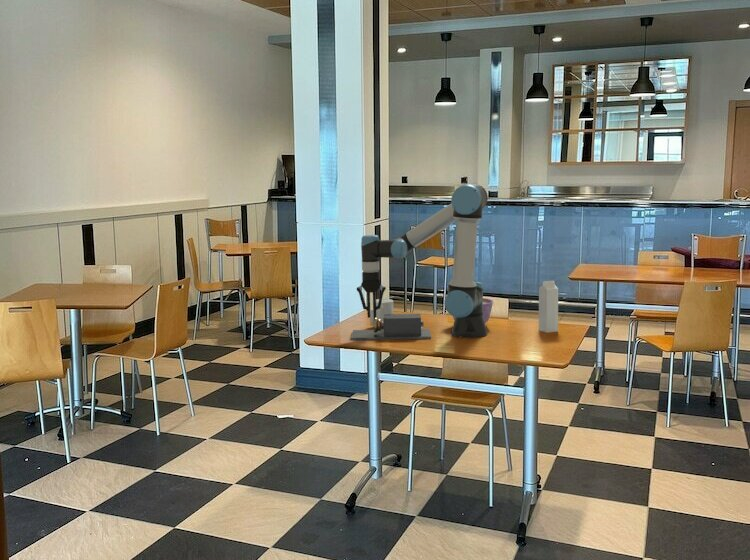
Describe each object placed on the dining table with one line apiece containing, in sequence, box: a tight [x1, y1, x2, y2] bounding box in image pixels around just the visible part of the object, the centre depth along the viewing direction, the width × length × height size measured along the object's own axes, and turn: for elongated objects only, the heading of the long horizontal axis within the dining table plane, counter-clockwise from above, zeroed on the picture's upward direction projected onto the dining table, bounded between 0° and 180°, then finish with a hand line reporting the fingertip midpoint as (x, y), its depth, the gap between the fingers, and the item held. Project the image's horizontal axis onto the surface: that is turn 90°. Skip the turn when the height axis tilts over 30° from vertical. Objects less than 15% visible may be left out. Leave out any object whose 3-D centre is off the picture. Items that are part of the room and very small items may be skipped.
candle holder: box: [371, 298, 394, 321], centre depth 338 cm, size 10×10×12 cm
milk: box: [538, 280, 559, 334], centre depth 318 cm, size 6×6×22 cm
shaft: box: [373, 317, 425, 333], centre depth 317 cm, size 22×7×7 cm, turn 88°
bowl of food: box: [452, 297, 494, 324], centre depth 333 cm, size 20×20×12 cm
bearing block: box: [350, 313, 432, 341], centre depth 318 cm, size 34×16×8 cm, turn 88°
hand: (372, 324), depth 318 cm, fingers closed
